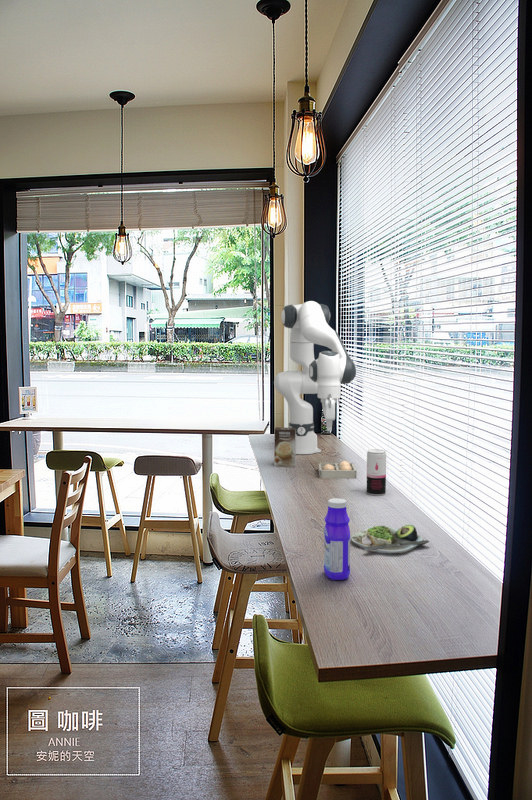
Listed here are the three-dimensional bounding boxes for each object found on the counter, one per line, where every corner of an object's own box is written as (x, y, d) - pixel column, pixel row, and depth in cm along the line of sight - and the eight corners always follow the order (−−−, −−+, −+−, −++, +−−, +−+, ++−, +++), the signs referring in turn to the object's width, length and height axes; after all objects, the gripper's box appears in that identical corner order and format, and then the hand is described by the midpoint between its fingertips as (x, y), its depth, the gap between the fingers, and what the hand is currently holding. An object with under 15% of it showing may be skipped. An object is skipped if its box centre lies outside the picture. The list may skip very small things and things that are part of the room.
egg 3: (339, 474, 224) (339, 463, 224) (351, 474, 224) (351, 463, 223) (340, 477, 219) (340, 465, 219) (352, 477, 219) (352, 465, 219)
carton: (318, 471, 232) (318, 462, 232) (353, 471, 232) (353, 463, 231) (319, 479, 219) (319, 470, 218) (356, 480, 218) (356, 470, 217)
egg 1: (334, 475, 224) (334, 464, 225) (334, 476, 220) (334, 464, 220) (322, 475, 224) (322, 463, 225) (322, 475, 220) (322, 463, 220)
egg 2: (338, 470, 231) (338, 459, 230) (349, 471, 230) (350, 459, 230) (339, 473, 226) (339, 462, 225) (350, 473, 226) (351, 462, 225)
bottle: (321, 569, 133) (321, 496, 131) (345, 568, 133) (346, 495, 131) (327, 582, 125) (327, 505, 124) (352, 581, 126) (353, 504, 124)
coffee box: (273, 466, 242) (273, 429, 240) (274, 463, 248) (274, 427, 246) (295, 467, 241) (295, 429, 239) (296, 464, 247) (296, 427, 245)
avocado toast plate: (392, 565, 136) (392, 546, 135) (334, 546, 149) (335, 529, 148) (435, 545, 149) (436, 528, 148) (379, 529, 162) (379, 513, 161)
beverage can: (387, 492, 200) (388, 450, 199) (383, 496, 194) (383, 453, 193) (369, 490, 203) (369, 448, 201) (364, 494, 197) (364, 451, 195)
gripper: (339, 396, 208) (338, 433, 210) (335, 390, 229) (335, 425, 230) (321, 396, 209) (321, 433, 210) (319, 390, 229) (319, 424, 231)
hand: (328, 428), depth 220 cm, fingers open, 8 cm apart
